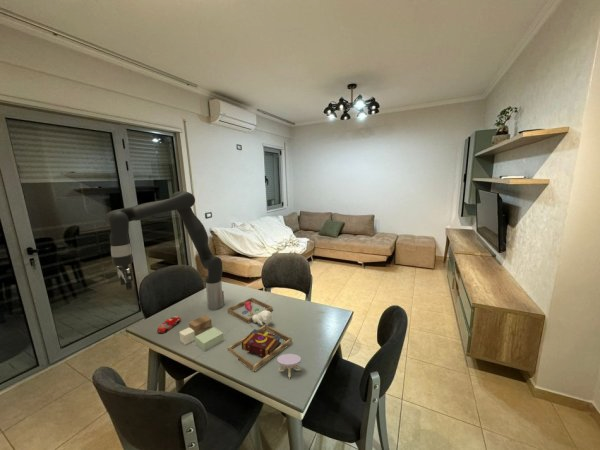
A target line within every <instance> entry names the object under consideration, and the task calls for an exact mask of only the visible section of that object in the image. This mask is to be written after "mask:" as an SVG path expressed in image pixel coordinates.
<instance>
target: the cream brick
mask: <svg viewBox="0 0 600 450" xmlns="http://www.w3.org/2000/svg"><path fill="white" fill-rule="evenodd" d="M195 336H196V335H195V333H194V330H192V329H191V328H190V327H189V326H188V327H187V328H185V329H182V330H180V331H179V341H180V342H181V343H182V344H184V345H187V344H189V343H191V342H192V343H193V342H195Z"/></svg>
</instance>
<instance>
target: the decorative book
mask: <svg viewBox="0 0 600 450" xmlns="http://www.w3.org/2000/svg"><path fill="white" fill-rule="evenodd" d="M249 334H250V335H249ZM249 334H248V335H249V336H248V335H247V336H248V337H247V338H246V339H245V340H244V341H243V342H242V343H241V349H242V350H243V351H246V352H247V354H254V355H257V356H259V357H261V358H264V357H265V356H267V355H270V353H271V352H272V351H274V350H275V349H276V348H278V347H279V346H280V345H282V342H280V340H281V336H279V335H275V334H274V335H273V334H272V333H270V332H268V331H264V332H261V331H259V330H258V329H253V330H252V331H251V332H250V333H249Z"/></svg>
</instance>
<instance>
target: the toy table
mask: <svg viewBox="0 0 600 450" xmlns="http://www.w3.org/2000/svg"><path fill="white" fill-rule="evenodd" d="M301 361H302V359H301V356H300V355H298V354H294V353H284V354H281V355H279V356H277V358H276V363H277V364H278V365H280V367H279V368H278V371H279V370H285V371H286V369H287V370H288V371H287V374H288V375H287V376H288V377H291V376H292V375H291V373H292V372H291V369H293V370H294V369H300V370H301V367H300V365H299V364H301ZM288 377H287V378H288Z"/></svg>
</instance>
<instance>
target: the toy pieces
mask: <svg viewBox="0 0 600 450" xmlns="http://www.w3.org/2000/svg"><path fill="white" fill-rule="evenodd" d="M244 307H245V309H246V310H243V311H241V315H242V316H245V315H247V316H248V317H249V318H251V317H253V315H254V312H252V302H250V301H248V302H246V304H245V305H244ZM259 309H260V308H254V309H253V311H255V313H257V312H256V311H259ZM251 312H252V313H251ZM259 312H260V311H259ZM248 313H249V314H248Z"/></svg>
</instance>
